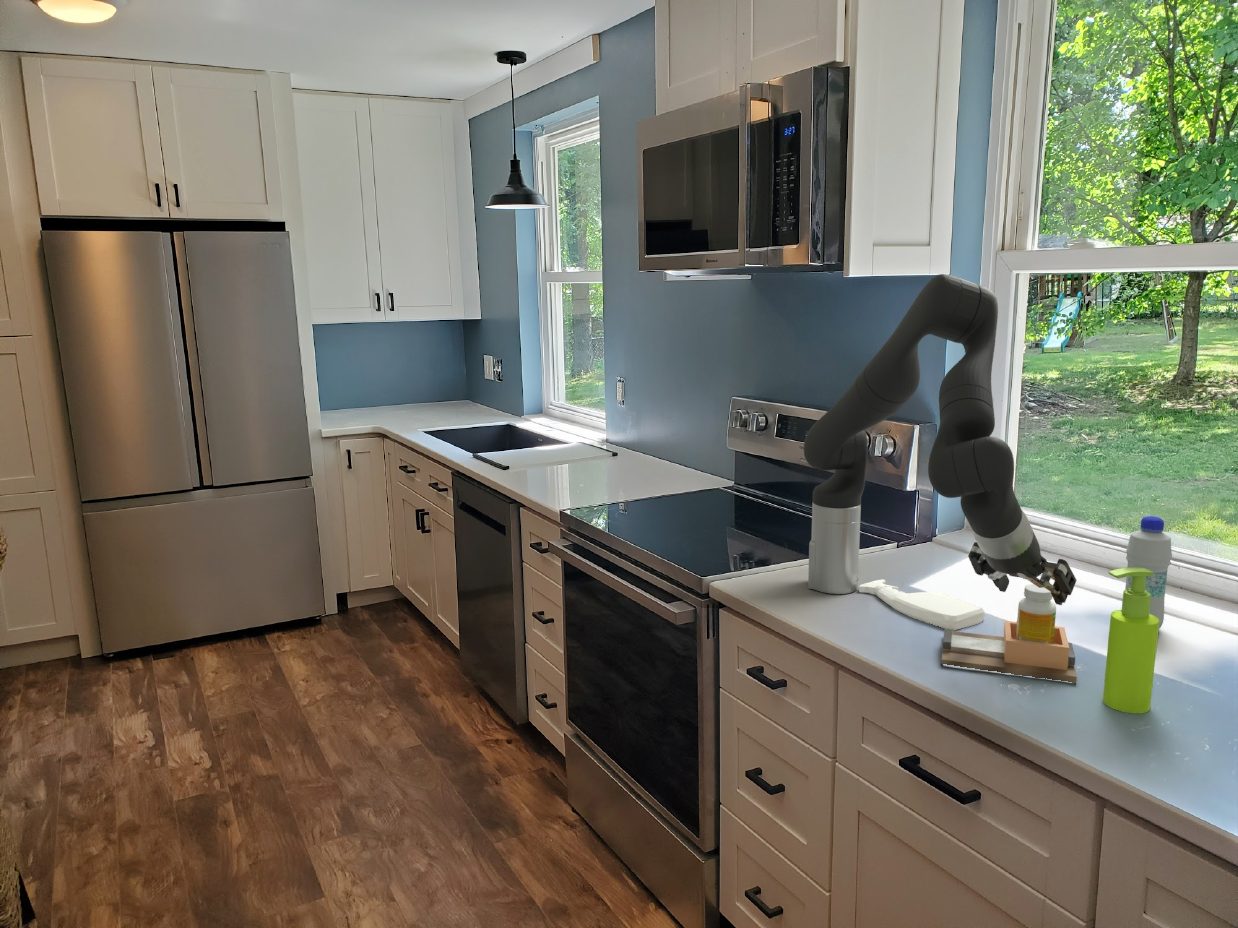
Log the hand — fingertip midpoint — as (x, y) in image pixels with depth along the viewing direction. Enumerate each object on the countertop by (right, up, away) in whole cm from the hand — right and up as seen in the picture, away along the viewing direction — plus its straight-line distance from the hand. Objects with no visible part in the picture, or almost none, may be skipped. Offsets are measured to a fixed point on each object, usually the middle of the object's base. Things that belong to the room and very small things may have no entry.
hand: (1032, 593), depth 138 cm
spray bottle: (-8, -7, +30) cm, 32 cm away
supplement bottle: (+2, -9, +4) cm, 10 cm away
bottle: (+27, -9, +17) cm, 33 cm away
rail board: (-2, -11, +6) cm, 13 cm away
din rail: (-2, -10, +5) cm, 12 cm away
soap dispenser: (+8, -15, -10) cm, 20 cm away
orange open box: (+2, -10, +4) cm, 11 cm away
